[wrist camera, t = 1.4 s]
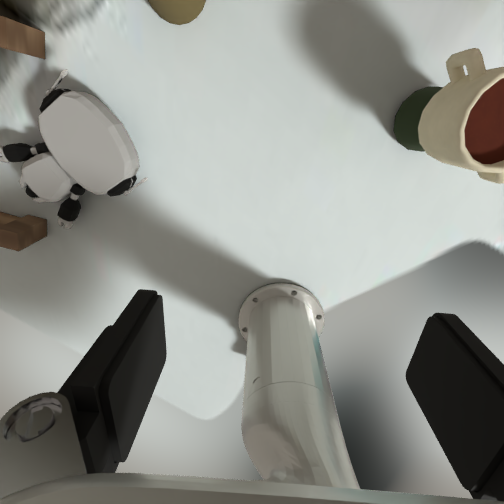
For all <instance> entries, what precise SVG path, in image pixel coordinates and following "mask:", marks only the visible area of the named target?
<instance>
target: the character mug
mask: <svg viewBox="0 0 504 504" xmlns="http://www.w3.org/2000/svg"><path fill="white" fill-rule="evenodd" d="M463 65H466V68H467V71H468V75H466V76H465V73H464V69H463ZM446 67H447V71H448V74H449V77H450V81H451V82H450V83H448V84H447V85H446V86H445V87H426V88H424V89H421V90H418V91H415V92H414V93H413V94H412V95H411V96H410V97H408V98H407V99H406V100H405V101H404V102H403V103H402V105H401V107H400V109H399V110H398V112H397V114H396V116H395V123H394V133H395V135H396V138H397V141H398V142H399V143H400V144H401V145H403V146H404V147H405V148H407V149H408V150H415V151H425V152H426V153H427V154H428V155H429V156H431V157H433V158H435V159H437V160H439V161H440V162H442V163H446V164H450V165H454V166H458V167H462V168H465V169H469V170H473V171H477V173H478V175H479V177H480V178H482V179H484V180H488V181H491V182H495V183H498V184H501V183H504V67H500V68H494V69H489V70H486V69H485V65H484V61H483V57H482V54H481V52H480V50H479V49H477V48H472V49H468V50H465V51H462V52H459V53H456V54H453V55H451V57H450V58H449V59H448V60H447V61H446Z"/></svg>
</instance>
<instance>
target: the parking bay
mask: <svg viewBox="0 0 504 504" xmlns="http://www.w3.org/2000/svg"><path fill="white" fill-rule="evenodd" d="M0 47H2V48H5V49H8V50H12V51H16V52H20V53H23V54H27V55H31V56H35V57H39V58H43V59H45V32H42V31H40V30H37V29H35V28H32V27H29V26H27V25H24V24H22V23H19V22H16V21H14V20H11V19H9V18H6V17H3V16H0ZM46 236H47V220H46V219H42V218H39V217H35V216H31V215H26V216H24V217H17V216H14V215H10V214H6V213H3V212H0V247H4V248H8V249H12V250H16V251H20V250H22V249H24V248H26V247H28V246H30V245H31V244H33V243H35V242H37V241H39V240H40V239H42V238H44V237H46Z"/></svg>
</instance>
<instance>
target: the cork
mask: <svg viewBox="0 0 504 504" xmlns="http://www.w3.org/2000/svg"><path fill="white" fill-rule="evenodd" d="M148 1H149V3H150V4H151V6H152V8H153V9H154V11H155V12H156V13H157V14H158V15H159V16H160V17H161V18H162V19H164V20H166V21H167V22H169V23H172V24H177V25H181V24H186V23H189V22H191V21H192V20H194V19H195V18H197V16H198V15H199V14H200V12H201V11H202V10H203V7H204V4H205V1H206V0H148Z"/></svg>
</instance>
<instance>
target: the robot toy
mask: <svg viewBox="0 0 504 504" xmlns="http://www.w3.org/2000/svg"><path fill="white" fill-rule="evenodd" d="M60 74H61V75H60V76H59V78H58V79H57V80H56V82H55V83H54V85H53V86H52V87H51V89H50V90H47V91H46V93H45V94H46V95H47V96H46V97H45V98H44V99H43V102H42V105H41V107H40V111H41V114H40V115H39V118H38V125H39V129H40V133H41V136H42V138H43V140H44V142H45V143H38V144H36V145H35V147H32V146H30V145H28V144H23V143H18V144H10V145H6V146H0V153H1V154H2V156H0V161H2V162H8V163H9V162H21V161H26V162H24V163H23V165H22V168H21V172H22V174H21V177H20V180H19V183H20V185H21V187H22V188H25V187H27V188H26V193H27V194H28V195H29V196H30V197H33V198H34V199H33V200H34V201H36V202H38V203H41V202H51V203H52V202H57V201H60V200H62V199H64V198H66V197H69V196H70V197H69V198H68V199H66V200H65V201H64V202H63V203H62V204H61V206H60V209H59V212H58V216H59V218H58V224H59V225H60V226H63V225H64V223H65V226H64V228H65V229H70V228H71V227H72V226H73V221H75V220H76V218H77V217H78V214H79V211H80V209H81V205H80V202H79V200H78V197H79V195H82V194H83V193H84V192H85V189H86V190H88V191H89V192H92V193H94V194H96V195H101V194H108V195H109V196H117V195H121V194H123V193H124V194H125V195H127V194H129V193H130V192H131V190H133V189H134V188H136V187H137V186H138V185H140V184H141V183H143V182H145V181H146V180H147V178H144V179H143V180H141V182H139V183H138V184H136V185H135V186H134V187H133V185H134V183H135V181H136V180H137V178H136V173H137V171H138V169H139V167H140V166H139V157H138V154H137V151H136V149H135V146H134V144H133V142H132V140H131V138H130V136H129V135H128V133H127V131H126V129H125V127H124V125H123V124H122V123H121V121H120V120H119V119H118V118H117V117H116V116H115V115H114V114H113V113H112V112H111V111H110V110H109V109H108V107H106V106H105V105H104V104H103V103H102V102H101V101H100V100H99V99H97V98H96V97H94V96H93V95H90V94H88V93H86V92H81V91H71V90H69V89H57V90H55V89H56V87H57V86H58V85H59V83H60V82H61V80H62V79H63V78H64V76H66V75H67V74H68V71H67V69H66V70H63V71H62V72H61V73H60ZM36 154H38V155H36ZM35 155H36V156H35ZM130 188H131V189H130ZM38 196H39V197H38ZM35 197H36V198H35Z"/></svg>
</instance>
